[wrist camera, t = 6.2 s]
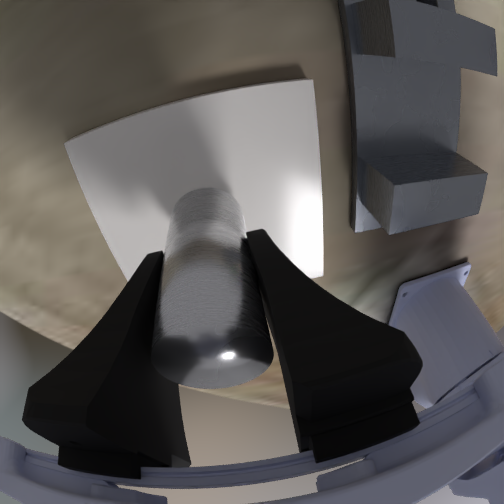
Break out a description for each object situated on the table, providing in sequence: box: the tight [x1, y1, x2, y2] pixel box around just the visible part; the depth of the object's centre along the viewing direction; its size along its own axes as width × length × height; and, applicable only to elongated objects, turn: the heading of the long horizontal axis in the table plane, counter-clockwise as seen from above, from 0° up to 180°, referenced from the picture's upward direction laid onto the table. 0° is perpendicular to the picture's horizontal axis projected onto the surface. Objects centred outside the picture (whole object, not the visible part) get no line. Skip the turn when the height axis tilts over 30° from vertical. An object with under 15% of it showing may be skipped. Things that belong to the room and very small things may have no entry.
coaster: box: [64, 78, 323, 281], centre depth 14 cm, size 11×11×1 cm
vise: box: [338, 0, 497, 235], centre depth 10 cm, size 16×7×4 cm, turn 9°
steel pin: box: [151, 188, 274, 389], centre depth 10 cm, size 3×3×7 cm
